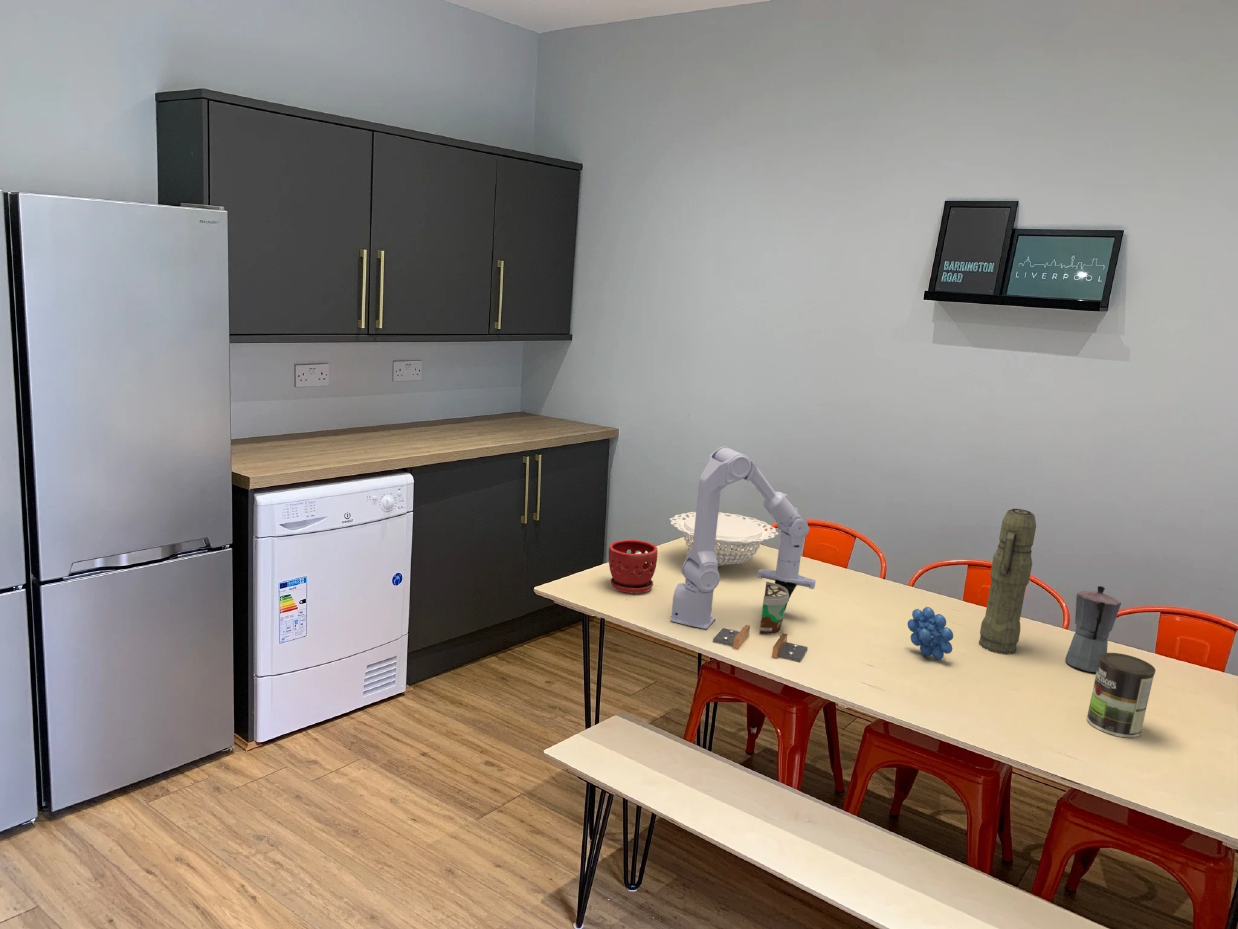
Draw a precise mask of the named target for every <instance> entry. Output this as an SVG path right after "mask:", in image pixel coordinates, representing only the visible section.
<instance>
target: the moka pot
mask: <svg viewBox="0 0 1238 929" xmlns="http://www.w3.org/2000/svg"><path fill="white" fill-rule="evenodd" d="M1105 589H1106V588H1105V587H1104V586H1101V585H1100V586H1099V585H1098V586H1097V591H1087V590H1086V591H1084V590H1082V591H1080V592H1077V593H1076V598H1075V599H1076V601H1075V617H1074V618H1075V619H1074V624H1075V625H1076V626H1075V630H1074V631H1075V632H1074V634H1073V637H1072V640H1071V643H1070V645H1069V647H1068V649H1067V653H1066V656H1065V659H1064V660H1065V662H1066V664H1067V665H1069V666H1071V667H1073V668H1076V669H1079V670H1081V671H1085V672H1089V673H1096V672H1097V668H1098V663H1099V655H1101V654H1103V653H1108V642H1109V641H1108V638H1109V635H1110V633H1111V632H1112V630H1113V628H1114V625H1115V622H1116V620H1117V616H1118V614H1119V611H1120V608H1121V605H1122V601H1120V600H1118V599H1117V598H1115V597H1113V596H1111V595H1108V594H1105V593H1104V592H1105Z"/></svg>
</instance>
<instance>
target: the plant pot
mask: <svg viewBox="0 0 1238 929" xmlns="http://www.w3.org/2000/svg"><path fill="white" fill-rule="evenodd" d="M628 550H629V551H630V553H628V552H627V551H628ZM637 551H638V552H640V553H636V552H637ZM658 554H659V552H658V548H657V546H656V545H655V544H654V543H651V542H648V541H645V540H636V539H623V540H617V541H613V542H612V543H610V544H609V545H608V564H609V565H608V567H609V571H610V575H611V579H610V584H611V586H612V587H613V588H614V589H615V590H617V591H619V592H622V593H626V594H627V593H628V594H633V595H636V594H642V593H646V592H648V591H650V590H651V589H652V588H653V586H654V581H653V580H652V578H653V577H654V574H655V571H656V569H657V563H658Z"/></svg>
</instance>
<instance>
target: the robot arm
mask: <svg viewBox="0 0 1238 929" xmlns="http://www.w3.org/2000/svg"><path fill="white" fill-rule="evenodd" d="M708 458H709V459H708V462H707V464H706V466H705V468H704V469H703V472H702V473H701V475H700V477H699V480H698V488H697V499H696V509H695V512H696V518H695V528H694V539H693V538H692V542H693V547H692V549H691V550H688V551H687V552H686V557H685V560H684V562H683V564H682V567H681V573H682V575H683V577H684V579H685V580H684V581H685V582H684V583H677V584H676V586H675V588H674V592H673V596H672V605H671V606H672V607H671V616H670V618H669V621H670V622H672V623H676V624H681V625H686V626H690V627H695V628H699V629H703V630H707V629H708V628H709V627H710V626H711V625H712V624H713V623H714V622H715V621H716V617H713V616H712V608H713V607H712V606H713V599H714V592H715V590H716V588H717V587H718V586H719V583H720V580H721V575H720V573H719V569H718V568H719V566H718V562H717V559H716V556H715V552H714V551H715V549H716V548H715V541H716V531H717V522H718V514H719V513H718V512H720V511H719V510H720V503H721V502H720V500H721V499H720V498H721V492H722V490H723V489H724V488H726V487H727V486H728V485H731V484H734V483H735V482H739V481H741V480H745V481H747V483H748V484H750V485H751V486H752V488H753V489H754V490H755V491H756V492H757V493H758V494H759V495H760V497H761V498H762V499H763V507H764V509H765V510H766V512H767V513H768V514H769V515H770V516H771V517H772V518H773V520H774V521H775V522H776V527H777V528H778V530H780V534H779V535H780V537H779V544H778V551H777V553H778V554H777V560H776V570H771V569H762V568H760V569H758V571H757V579H761V580H762V579H765V580H770V581H774V583H775V584H778V585H781V586H783V587H785V588H786V589H787V590H788V593H789V599H790V598H791V596H792V594H793V592H794V591H795V589H796V588H797V586H800V587H804V588H805V587H806V588H809V589H811V590H814V589H815V588H816V579H812V578H809V577H805V576H803V575H800V574H799V573H800V565H801V557H802V550H803V549H802V548H803V544H804V541H805V538H806V536H807V535H808V534H809V531H810V527H809V525H808V521H807V519H806V518H805V516H804V517H803V516H802V515H800V514H799V509H798V508H797V507H795V506H793V505H792V503H791V502H790V501H789V498H790V497H789V495H787V494H786V493H784V492H781V491H775V490H774V488H773V487H772V486H771V484H770V483H769V482H768V480H767V479H766V477H765V476H764V475H763V473H762V472H761V470H760V469H759V467H758V466H757V464H756V463H755V462H754V461H752V460H751V459H750V457H749V456H748V455H747V454H745V453H741V452H739V451H736V450H735V449H732V448H731V447H730V446H720V447H718V448H717V449H716V450H714V451H713V452H712V453H711V454H709V457H708ZM787 606H788V603H786V605H785V610H784V612H785V611H786V609H787Z"/></svg>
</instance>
